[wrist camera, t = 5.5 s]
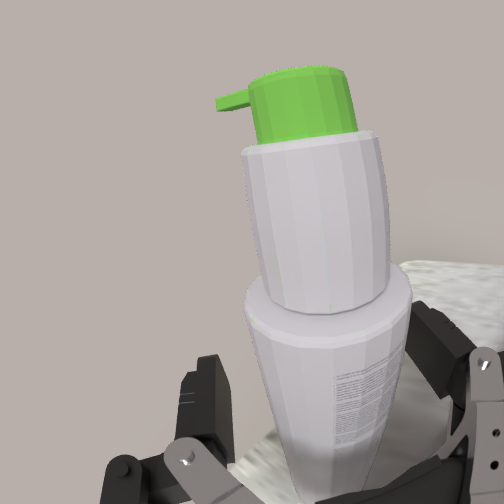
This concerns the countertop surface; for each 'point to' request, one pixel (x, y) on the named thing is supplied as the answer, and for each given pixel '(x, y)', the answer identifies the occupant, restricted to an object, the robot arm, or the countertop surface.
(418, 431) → the countertop surface
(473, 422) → the robot arm
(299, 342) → the bottle
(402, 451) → the countertop surface
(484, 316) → the countertop surface
